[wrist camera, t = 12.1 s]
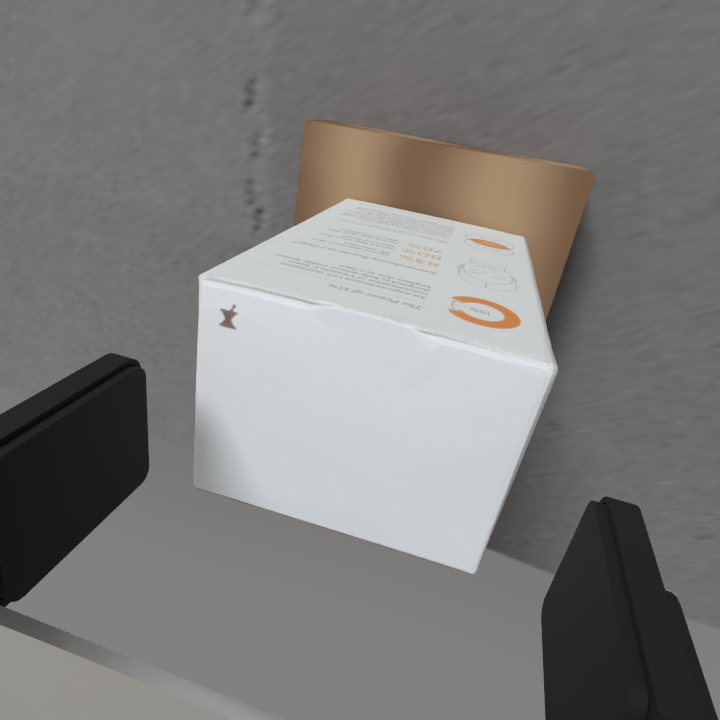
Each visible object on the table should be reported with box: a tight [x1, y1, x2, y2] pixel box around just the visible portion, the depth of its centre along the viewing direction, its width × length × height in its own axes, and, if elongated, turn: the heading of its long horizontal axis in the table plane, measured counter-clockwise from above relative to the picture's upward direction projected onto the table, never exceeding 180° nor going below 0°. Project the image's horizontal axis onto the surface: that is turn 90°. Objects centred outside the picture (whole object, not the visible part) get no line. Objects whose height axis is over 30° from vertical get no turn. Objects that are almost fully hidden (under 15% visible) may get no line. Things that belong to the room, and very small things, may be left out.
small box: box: [193, 199, 558, 574], centre depth 18 cm, size 8×6×13 cm
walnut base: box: [294, 120, 596, 322], centre depth 26 cm, size 12×12×4 cm
